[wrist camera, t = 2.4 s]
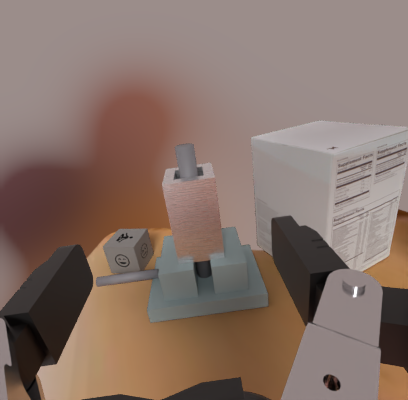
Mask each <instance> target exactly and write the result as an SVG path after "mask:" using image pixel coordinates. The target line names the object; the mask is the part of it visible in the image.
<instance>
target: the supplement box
mask: <svg viewBox="0 0 408 400" xmlns="http://www.w3.org/2000/svg"><path fill="white" fill-rule="evenodd" d="M251 146H252V160H253V176H254V194H255V212H256V230H257V245H258V246H259V247H260V248H262V249H263V250H264V251H266V252H267V253H268V254H270V255H271V256H272V257H273V255H272V239H271V220H272V218H274V217H281V216H289V215H291V216H292V217H293V219H294V220H295V221H296V222H297V224H298V225H299V226H303V225H306V226H308V227H310V228H312V229H314V230H315V231H317V232H318V233H319V234H320V236H321V237H322V238H323V240H325V241H326V242H327V243H328V245H329V247H331V248H332V249H333V250H334V251H335V252H336V254H337V255H338V256H339V257H340V258H341V259H342V260H343V261H344V263H345V264H346V265H347V266H348V267H349V268H350V269H353V270H357V271H361V272H362V271H364V270H366V269H367V268H369V267H371V266H373V265H374V264H376V263H378V262H380V261H381V260H383V259H385V258H386V257H388V256H389V253H390V248H391V242H392V237H393V232H394V227H395V222H396V217H397V212H398V207H399V202H400V196H401V192H402V187H403V182H404V177H405V172H406V166H407V161H408V127H400V126H386V125H372V124H371V125H370V124H357V123H343V122H331V121H321V120H320V121H316V122H312V123H307V124H303V125H299V126H296V127H291V128H287V129H283V130H279V131H275V132H271V133H267V134H263V135H259V136H255V137H252V138H251Z"/></svg>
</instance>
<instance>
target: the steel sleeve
mask: <svg viewBox="0 0 408 400" xmlns="http://www.w3.org/2000/svg"><path fill="white" fill-rule="evenodd" d="M197 171H198V176H196V177H189V178H182V179H180V174H179V168H178V167H177V168H170V169H166V172H165V176H164V180H163V183H162V187H163V191H164V197H165V201H166V206H167V211H168V215H169V220H170V225H171V230H172V235H173V239H174V244H175V249H176V253H177V258H178V263H179V264H186V263H193V262H200V261H208V260H215V259H222V258H225V256H224V248H223V239H222V231H221V223H220V214H219V206H218V197H217V189H216V181H215V175H214V172H213V168H212V165H211V163H206V164H199V165H197Z"/></svg>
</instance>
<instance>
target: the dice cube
mask: <svg viewBox="0 0 408 400" xmlns="http://www.w3.org/2000/svg"><path fill="white" fill-rule="evenodd" d="M103 249H104V252H105V255H106V258H107V261H108V263H109V266H110V269H111V272H112V273H131V272H138V271H144V269H145V267H146V266H147V264H148V262H149V261H150V259H151V257H152V256H153V254H154V253H153V249H152V245H151V242H150V238H149V234H148V230H147V229H119V230H118V231H117V232H116V233H115V234H114V235H113V236H112V237H111V238H110V239H109V241H108V242H107V243H106V244H105V245H104V246H103Z"/></svg>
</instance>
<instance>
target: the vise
mask: <svg viewBox="0 0 408 400" xmlns="http://www.w3.org/2000/svg"><path fill="white" fill-rule="evenodd" d="M175 151H176V157H177V163H178V168H179V174H180V179H182V178H189V177H196V176H198V171H197V164H196V158H195V151H194V145H193V144H182V145H178V146H176V147H175ZM221 231H222V239H223V248H224V256H225V258H222V259H215V260H208V261H200V262H193V263H186V264H179V263H178V258H177V253H176V249H175V244H174V239H173V235H172V236H165V237H164V241H163V248H162V254H161V257H157V259H156V264H155V269H152V270H145V271H138V272H131V273H124V274H117V275H109V276H102V277H97V279H96V285H97V286H98V287H99V286H106V285H113V284H121V283H128V282H135V281H142V280H149V279H153V281H152V286H151V291H150V297H149V302H148V307H147V312H148V316H149V319H150V322H151V323H152V322H160V321H167V320H174V319H181V318H188V317H195V316H203V315H210V314H217V313H224V312H231V311H238V310H246V309H253V308H260V307H267V306H268V292H267V290H266V287H265V284H264V282H263V279H262V277H261V274H260V271H259V269H258V266H257V263H256V261H255V258H254V255H253V253H252V250H251V248H250V245H242V246H241V243H240V240H239V237H238V234H237V231H236V228H235V227H229V228H222V229H221Z"/></svg>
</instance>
